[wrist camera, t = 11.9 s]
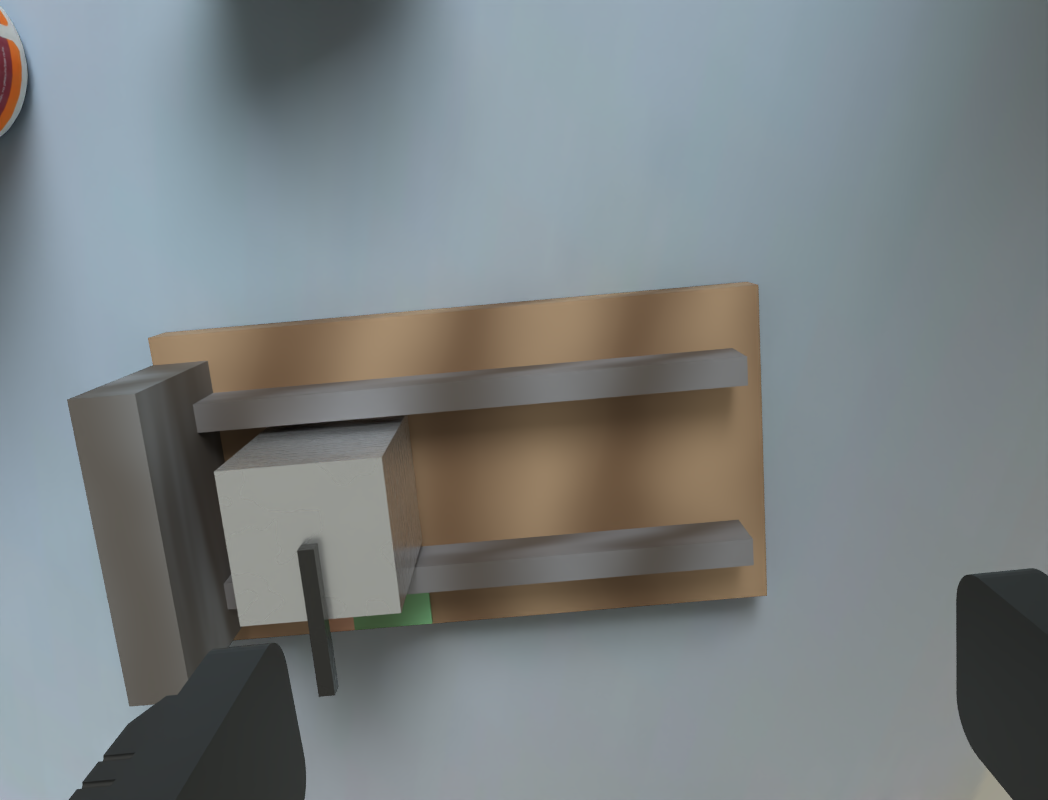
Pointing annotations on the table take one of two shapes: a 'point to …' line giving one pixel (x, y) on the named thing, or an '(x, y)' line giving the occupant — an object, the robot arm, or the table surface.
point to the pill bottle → (11, 73)
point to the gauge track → (447, 460)
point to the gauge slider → (321, 526)
